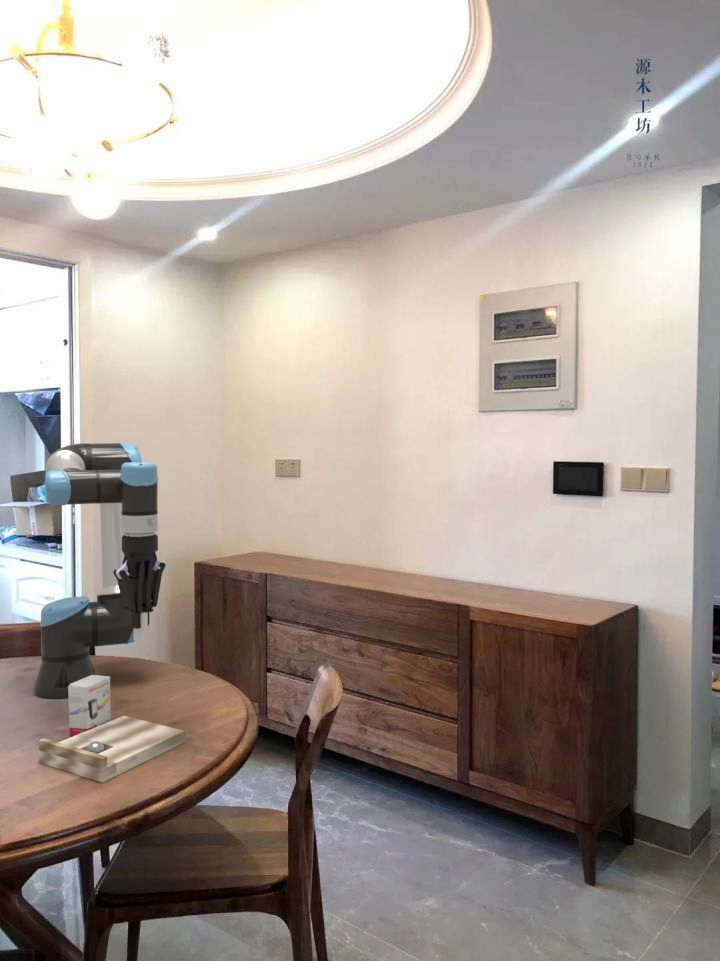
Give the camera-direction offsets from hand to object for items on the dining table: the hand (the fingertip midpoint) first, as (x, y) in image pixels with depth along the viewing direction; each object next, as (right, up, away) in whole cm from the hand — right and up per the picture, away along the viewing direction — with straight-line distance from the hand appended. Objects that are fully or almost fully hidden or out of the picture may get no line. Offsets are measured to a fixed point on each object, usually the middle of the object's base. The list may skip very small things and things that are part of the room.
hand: (140, 642), depth 161 cm
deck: (-3, -21, -8) cm, 23 cm away
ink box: (-12, -21, +2) cm, 24 cm away
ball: (-5, -19, -13) cm, 23 cm away
